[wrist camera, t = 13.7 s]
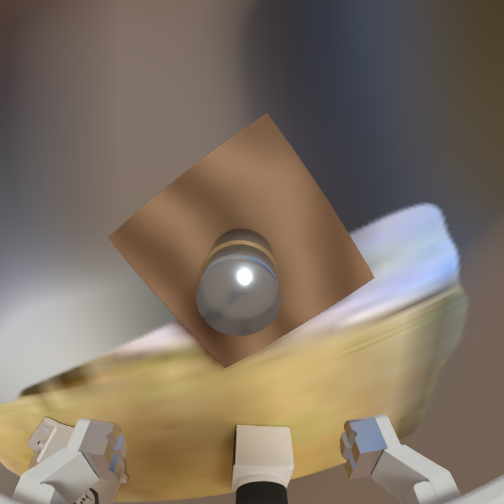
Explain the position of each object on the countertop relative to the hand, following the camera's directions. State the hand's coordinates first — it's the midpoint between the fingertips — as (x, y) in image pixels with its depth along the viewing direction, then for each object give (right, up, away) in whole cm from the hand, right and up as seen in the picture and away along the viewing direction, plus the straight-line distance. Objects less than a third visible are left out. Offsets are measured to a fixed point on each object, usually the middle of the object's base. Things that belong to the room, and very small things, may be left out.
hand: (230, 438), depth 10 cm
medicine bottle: (+2, -19, +29) cm, 35 cm away
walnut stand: (0, +7, +20) cm, 21 cm away
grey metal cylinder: (0, +6, +16) cm, 17 cm away
